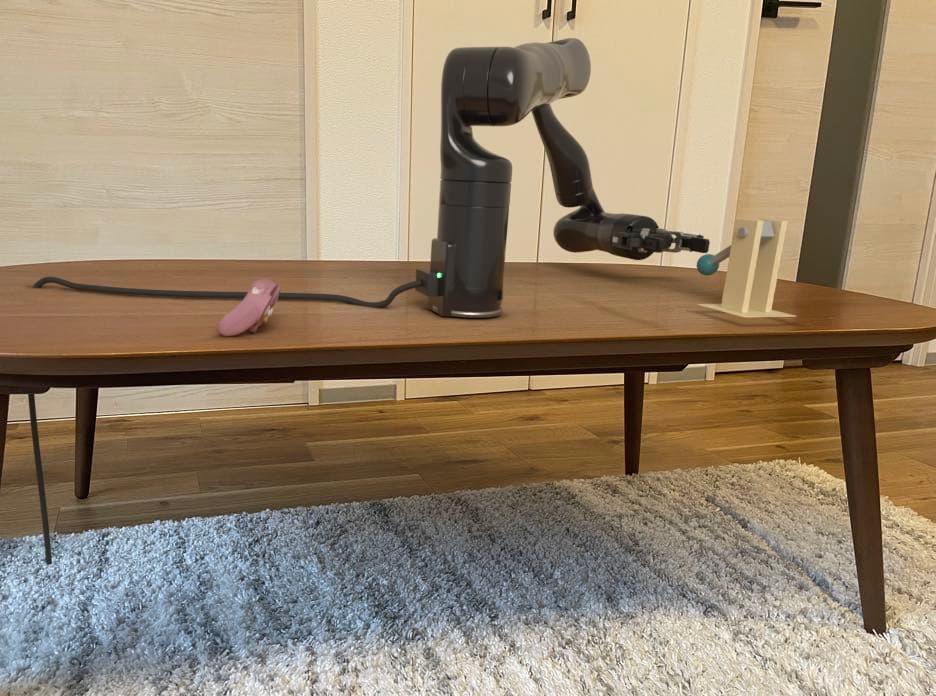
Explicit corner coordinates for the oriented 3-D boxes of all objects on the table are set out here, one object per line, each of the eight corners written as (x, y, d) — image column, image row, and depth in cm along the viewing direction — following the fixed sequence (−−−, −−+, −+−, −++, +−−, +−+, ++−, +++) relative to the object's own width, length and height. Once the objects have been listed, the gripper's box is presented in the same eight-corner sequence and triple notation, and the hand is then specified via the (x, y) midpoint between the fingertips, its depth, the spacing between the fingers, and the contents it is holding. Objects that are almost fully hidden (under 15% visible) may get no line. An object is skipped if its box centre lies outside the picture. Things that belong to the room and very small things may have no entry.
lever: (694, 278, 119) (690, 259, 119) (711, 278, 119) (707, 259, 120) (759, 238, 105) (754, 217, 106) (778, 239, 106) (773, 217, 107)
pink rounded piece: (250, 352, 86) (278, 297, 84) (213, 332, 85) (240, 276, 83) (266, 333, 95) (291, 283, 93) (232, 315, 94) (257, 265, 93)
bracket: (695, 312, 114) (710, 216, 110) (745, 311, 117) (762, 217, 113) (742, 325, 105) (760, 221, 101) (795, 324, 108) (815, 223, 104)
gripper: (594, 213, 134) (649, 221, 120) (664, 215, 139) (726, 222, 124) (589, 257, 137) (642, 270, 122) (658, 257, 141) (718, 270, 126)
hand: (684, 246), depth 123 cm, fingers open, 8 cm apart
